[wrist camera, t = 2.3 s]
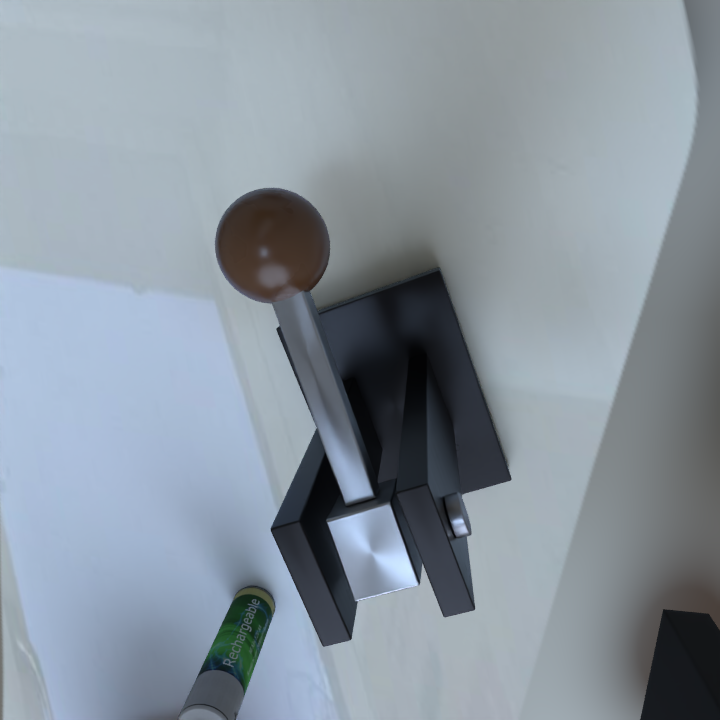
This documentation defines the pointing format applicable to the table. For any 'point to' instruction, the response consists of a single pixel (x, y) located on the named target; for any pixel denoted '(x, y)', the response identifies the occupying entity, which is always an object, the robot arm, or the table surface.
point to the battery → (231, 658)
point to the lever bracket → (396, 445)
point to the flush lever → (319, 379)
